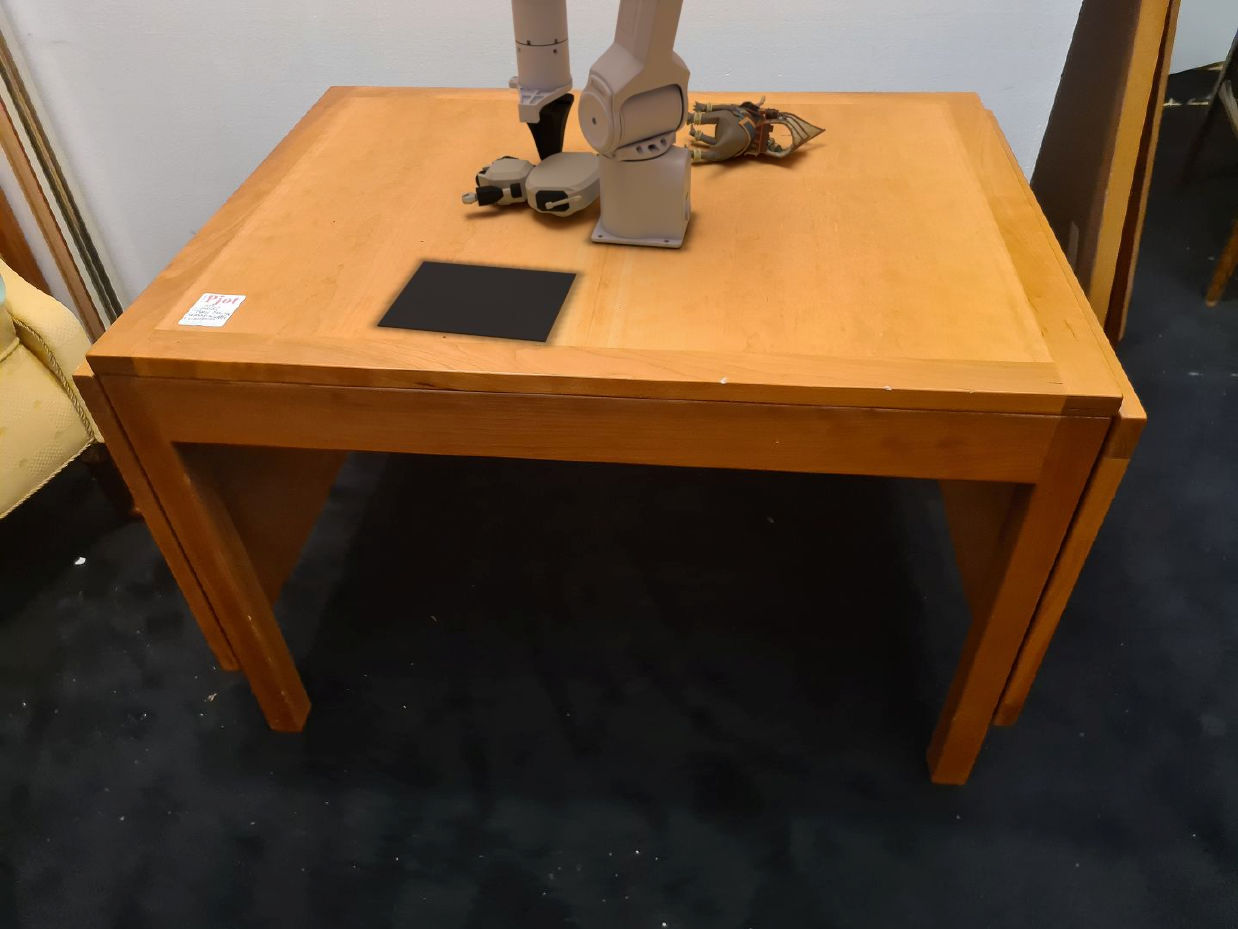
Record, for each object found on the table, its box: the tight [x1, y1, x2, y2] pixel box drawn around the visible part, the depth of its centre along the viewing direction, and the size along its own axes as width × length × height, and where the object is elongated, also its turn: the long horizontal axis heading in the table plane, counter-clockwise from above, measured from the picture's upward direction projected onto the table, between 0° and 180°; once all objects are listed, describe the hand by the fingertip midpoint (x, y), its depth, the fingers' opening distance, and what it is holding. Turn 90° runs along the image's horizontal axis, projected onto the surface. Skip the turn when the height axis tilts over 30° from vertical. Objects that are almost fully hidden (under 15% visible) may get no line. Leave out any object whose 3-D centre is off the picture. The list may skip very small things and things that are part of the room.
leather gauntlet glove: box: [683, 95, 826, 163], centre depth 105 cm, size 20×6×17 cm
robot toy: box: [461, 151, 600, 218], centre depth 97 cm, size 12×4×15 cm
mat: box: [377, 260, 577, 343], centre depth 83 cm, size 16×12×1 cm
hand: (551, 161), depth 102 cm, fingers closed
